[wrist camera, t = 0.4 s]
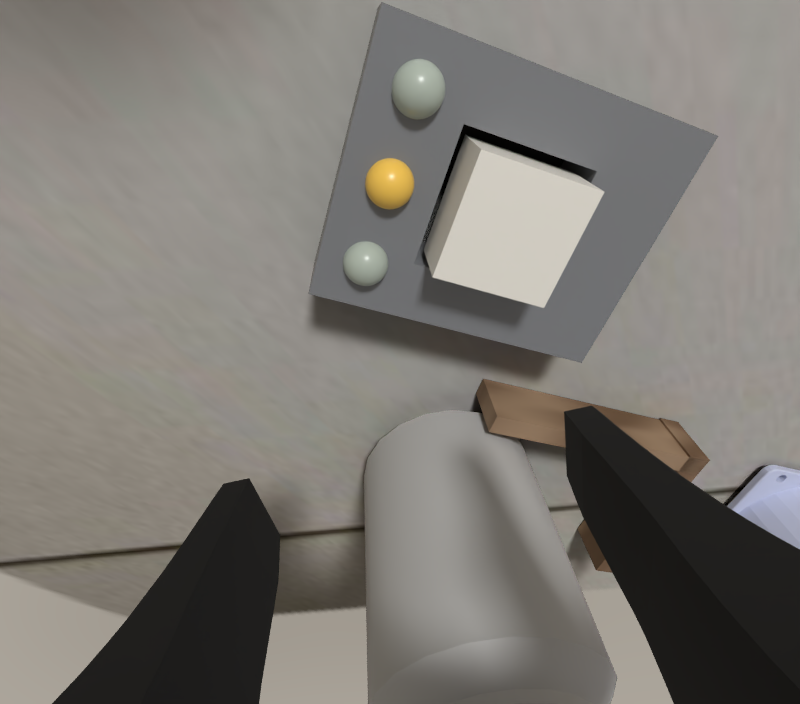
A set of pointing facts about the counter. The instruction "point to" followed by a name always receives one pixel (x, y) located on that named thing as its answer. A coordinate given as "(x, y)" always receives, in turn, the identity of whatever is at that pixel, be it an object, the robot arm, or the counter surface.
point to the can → (470, 575)
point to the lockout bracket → (545, 424)
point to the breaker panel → (428, 163)
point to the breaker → (508, 223)
